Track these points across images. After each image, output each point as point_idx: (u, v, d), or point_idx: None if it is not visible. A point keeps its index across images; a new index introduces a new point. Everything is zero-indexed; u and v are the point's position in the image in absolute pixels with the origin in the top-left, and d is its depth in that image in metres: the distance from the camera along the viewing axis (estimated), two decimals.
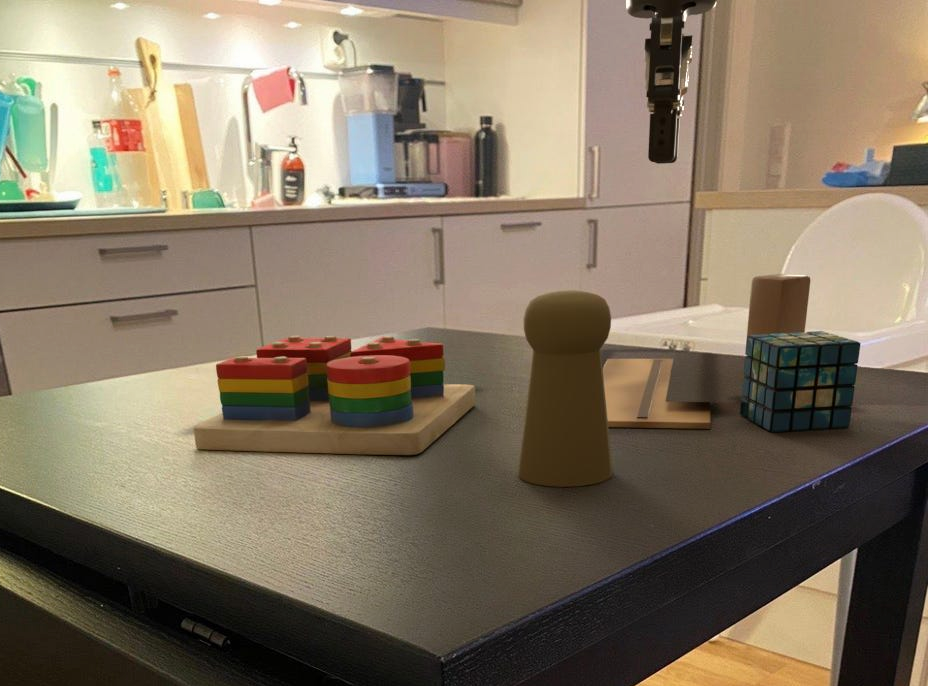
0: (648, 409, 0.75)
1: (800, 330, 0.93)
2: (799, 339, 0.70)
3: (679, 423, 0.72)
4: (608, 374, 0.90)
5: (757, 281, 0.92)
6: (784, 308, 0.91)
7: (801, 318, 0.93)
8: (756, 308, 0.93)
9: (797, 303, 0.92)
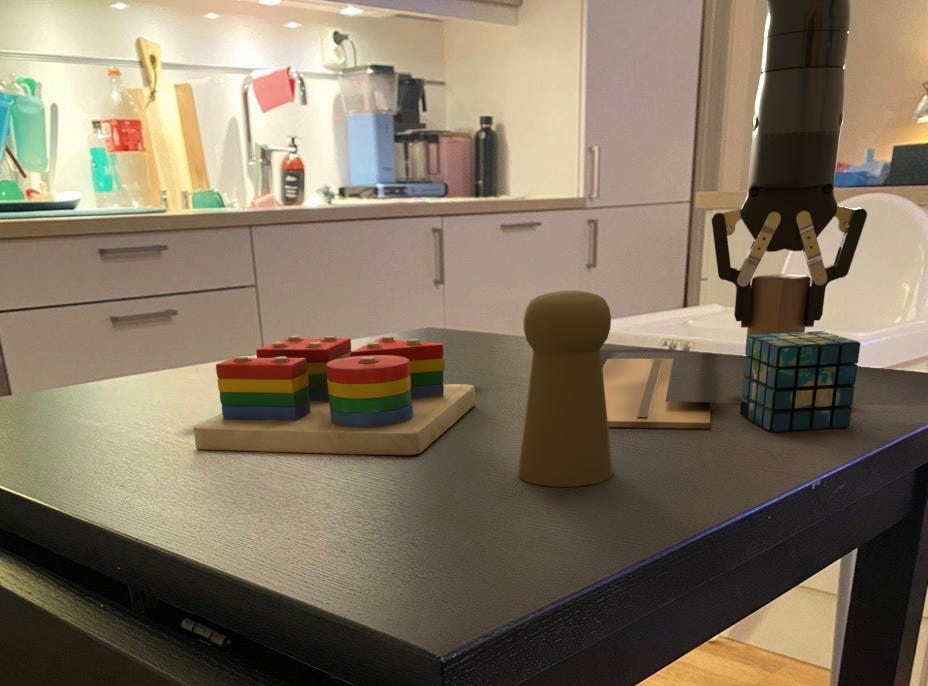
0: (648, 409, 0.75)
1: (800, 330, 0.93)
2: (799, 339, 0.70)
3: (679, 423, 0.72)
4: (608, 374, 0.90)
5: (757, 281, 0.92)
6: (784, 308, 0.91)
7: (801, 318, 0.93)
8: (756, 308, 0.93)
9: (797, 303, 0.92)
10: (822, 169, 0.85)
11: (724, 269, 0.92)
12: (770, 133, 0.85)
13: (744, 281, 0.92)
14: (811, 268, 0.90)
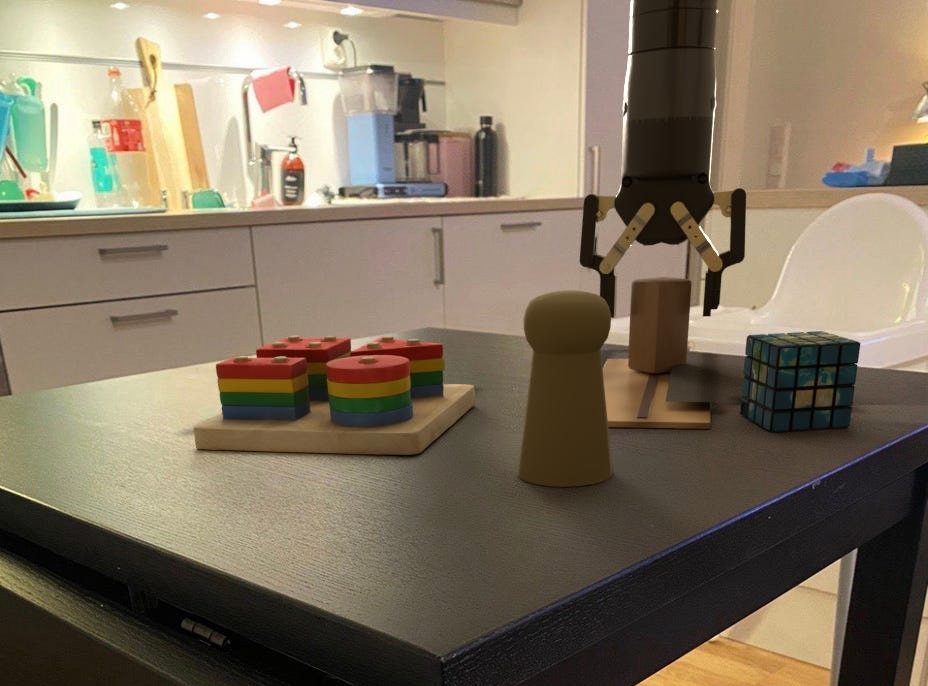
0: (648, 409, 0.75)
1: (682, 336, 0.88)
2: (799, 339, 0.70)
3: (679, 423, 0.72)
4: (608, 374, 0.90)
5: (636, 284, 0.87)
6: (663, 313, 0.86)
7: (683, 323, 0.88)
8: (636, 313, 0.88)
9: (678, 307, 0.87)
10: (693, 157, 0.80)
11: (586, 255, 0.87)
12: (638, 119, 0.80)
13: (606, 268, 0.87)
14: (703, 257, 0.85)
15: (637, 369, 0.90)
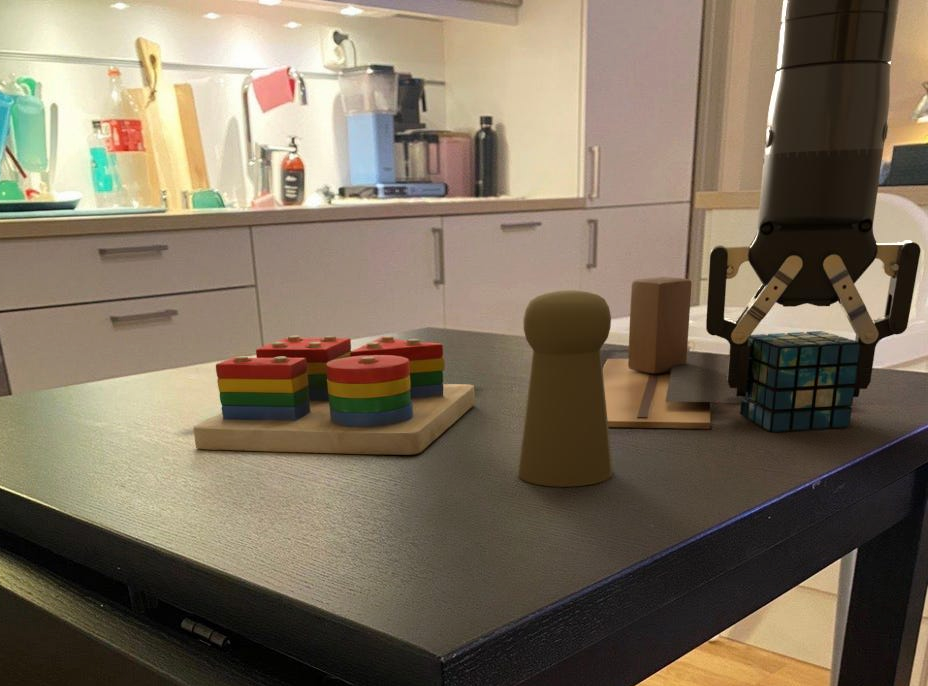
0: (648, 409, 0.75)
1: (682, 336, 0.88)
2: (799, 339, 0.70)
3: (679, 423, 0.72)
4: (608, 374, 0.90)
5: (636, 284, 0.87)
6: (663, 313, 0.86)
7: (683, 323, 0.88)
8: (636, 313, 0.88)
9: (678, 307, 0.87)
10: (858, 200, 0.63)
11: (715, 321, 0.70)
12: (789, 152, 0.63)
13: (740, 337, 0.70)
14: (854, 324, 0.68)
15: (637, 369, 0.90)
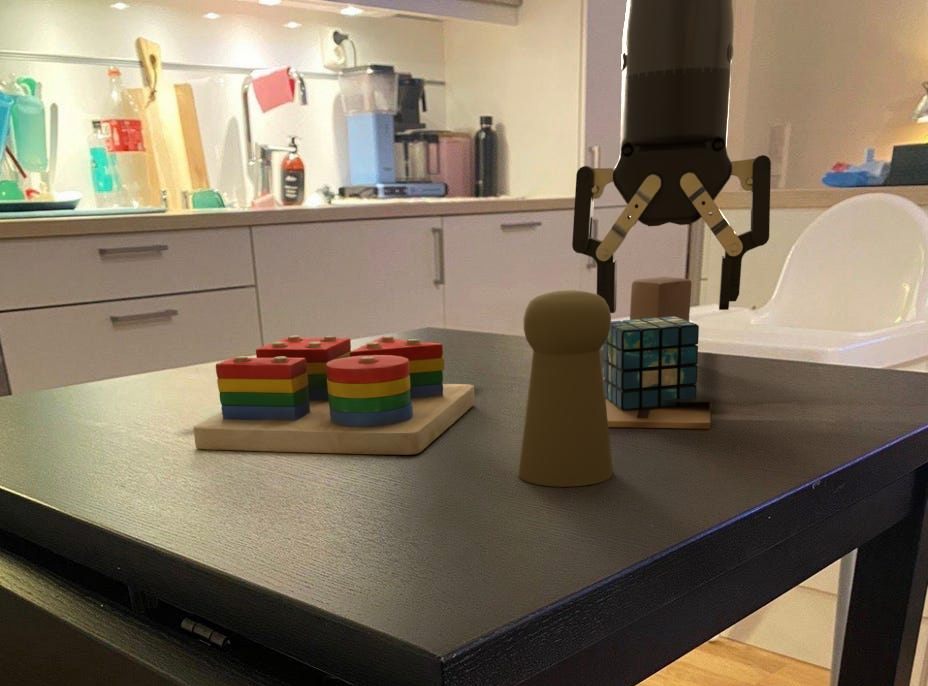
0: (648, 409, 0.75)
1: None
2: (646, 324, 0.76)
3: (679, 423, 0.72)
4: None
5: (636, 284, 0.87)
6: (663, 313, 0.86)
7: None
8: (636, 313, 0.88)
9: (678, 307, 0.87)
10: (707, 117, 0.67)
11: (580, 239, 0.73)
12: (640, 72, 0.66)
13: (604, 254, 0.73)
14: (719, 238, 0.71)
15: None
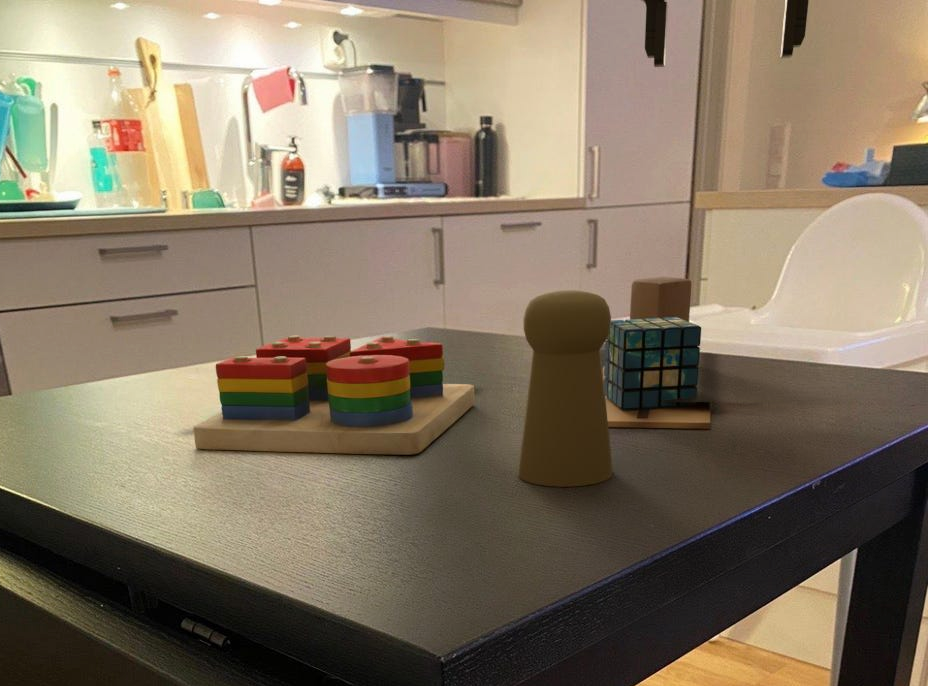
0: (648, 409, 0.75)
1: None
2: (648, 324, 0.75)
3: (679, 423, 0.72)
4: None
5: (636, 284, 0.87)
6: (663, 313, 0.86)
7: None
8: (636, 313, 0.88)
9: (678, 307, 0.87)
10: None
11: None
12: None
13: None
14: None
15: None
